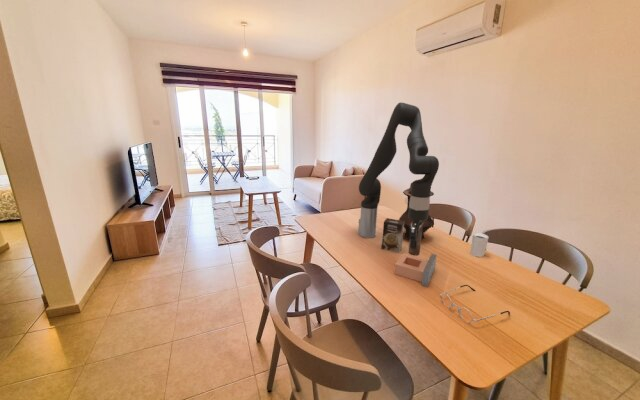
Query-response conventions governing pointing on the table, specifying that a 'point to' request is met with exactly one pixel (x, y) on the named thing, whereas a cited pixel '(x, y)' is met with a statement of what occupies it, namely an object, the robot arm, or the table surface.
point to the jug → (407, 223)
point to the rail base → (429, 270)
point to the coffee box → (392, 235)
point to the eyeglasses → (465, 308)
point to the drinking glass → (479, 244)
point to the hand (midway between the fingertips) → (414, 245)
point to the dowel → (417, 250)
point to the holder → (410, 267)
